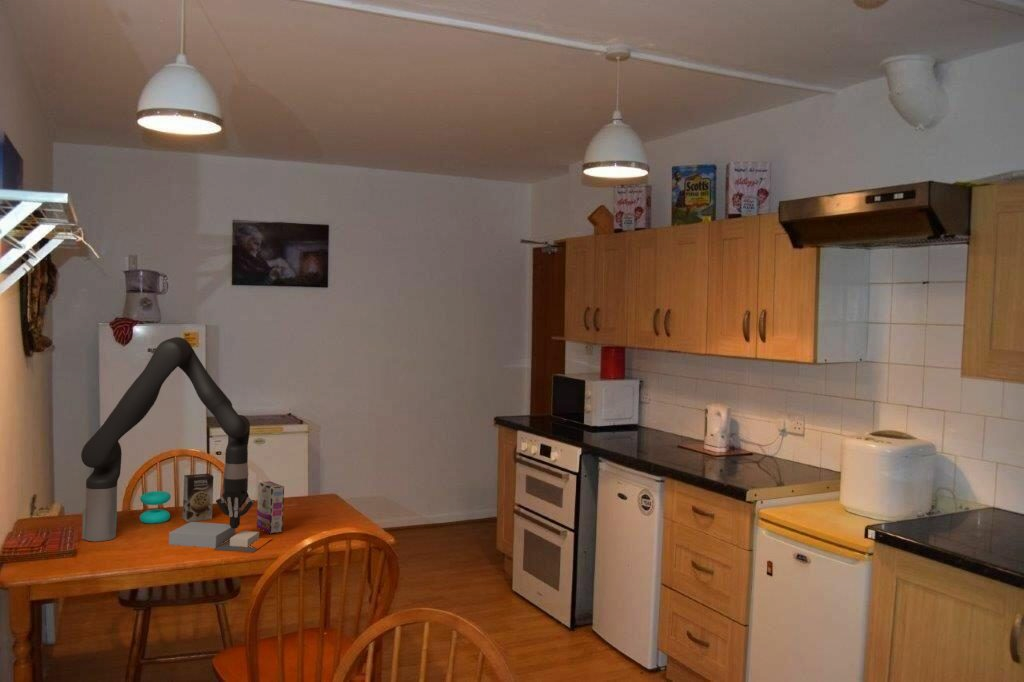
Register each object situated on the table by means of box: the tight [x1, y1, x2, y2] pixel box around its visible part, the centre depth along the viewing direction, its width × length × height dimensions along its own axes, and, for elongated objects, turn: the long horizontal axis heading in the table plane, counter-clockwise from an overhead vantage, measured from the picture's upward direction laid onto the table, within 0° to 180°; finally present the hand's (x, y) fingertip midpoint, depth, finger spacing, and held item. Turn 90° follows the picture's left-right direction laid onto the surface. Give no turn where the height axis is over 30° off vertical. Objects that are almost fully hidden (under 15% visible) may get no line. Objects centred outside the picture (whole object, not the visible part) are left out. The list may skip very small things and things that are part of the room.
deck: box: [168, 521, 236, 549], centre depth 264 cm, size 16×14×4 cm
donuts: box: [139, 490, 172, 524], centre depth 286 cm, size 10×10×10 cm
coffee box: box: [182, 473, 214, 523], centre depth 290 cm, size 9×6×16 cm
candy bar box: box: [256, 480, 285, 535], centre depth 279 cm, size 11×5×16 cm, turn 42°
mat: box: [213, 540, 258, 553], centre depth 262 cm, size 13×16×1 cm
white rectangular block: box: [230, 530, 260, 547], centre depth 263 cm, size 6×9×2 cm, turn 174°
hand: (234, 527), depth 263 cm, fingers closed
